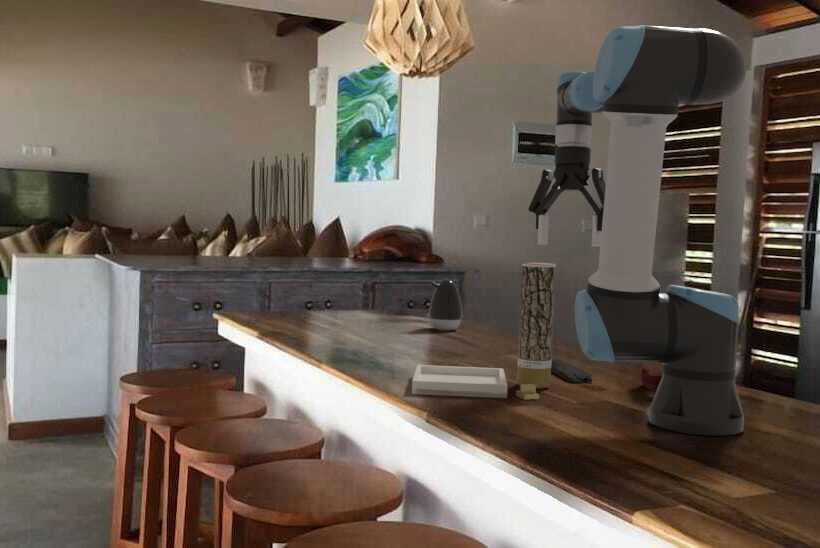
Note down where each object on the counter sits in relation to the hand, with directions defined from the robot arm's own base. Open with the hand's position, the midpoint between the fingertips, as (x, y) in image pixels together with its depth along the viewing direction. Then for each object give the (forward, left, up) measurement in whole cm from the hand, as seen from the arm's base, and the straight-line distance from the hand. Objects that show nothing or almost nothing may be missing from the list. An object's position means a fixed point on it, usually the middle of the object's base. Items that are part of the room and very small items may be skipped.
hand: (568, 245), depth 185 cm
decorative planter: (-10, -21, -29) cm, 37 cm away
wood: (+3, -1, -29) cm, 29 cm away
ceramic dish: (-17, +22, -28) cm, 40 cm away
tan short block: (-24, +9, -29) cm, 39 cm away
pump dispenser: (+70, +27, -29) cm, 81 cm away
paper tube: (-13, +7, -29) cm, 32 cm away
